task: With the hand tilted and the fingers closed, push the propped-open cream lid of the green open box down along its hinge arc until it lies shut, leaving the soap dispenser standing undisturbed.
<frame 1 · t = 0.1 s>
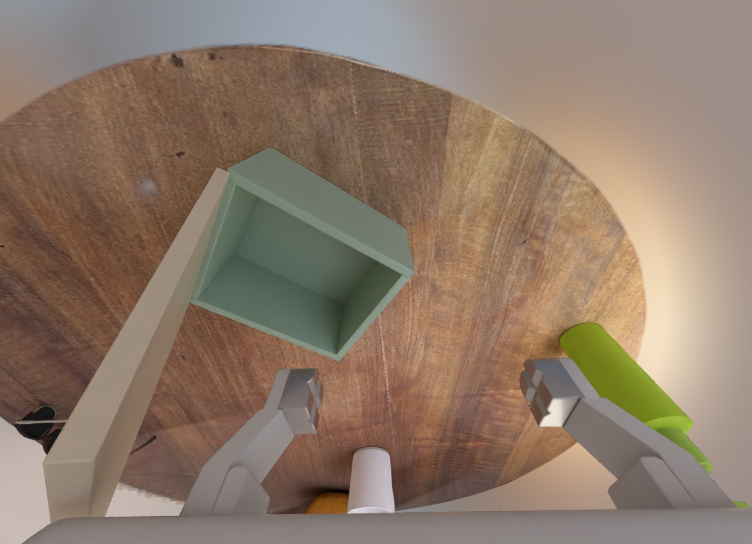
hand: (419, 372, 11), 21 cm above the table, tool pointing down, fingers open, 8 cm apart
bread: (342, 495, 74), on the table
green open box: (315, 241, 31), on the table
mug: (374, 455, 61), on the table
sunglasses: (106, 419, 53), on the table
lid: (161, 334, 15), point 17 cm above the table, hinge at 75.0°
soap dispenser: (578, 338, 40), on the table
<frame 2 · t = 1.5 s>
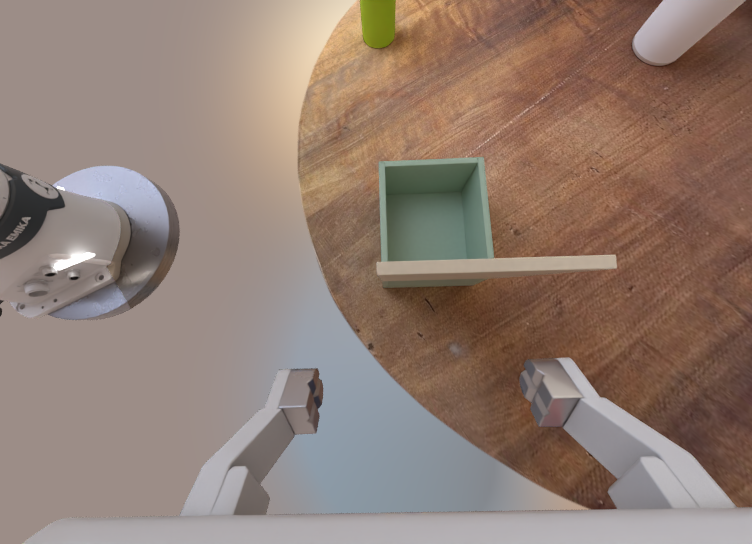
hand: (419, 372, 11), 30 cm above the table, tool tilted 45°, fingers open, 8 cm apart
green open box: (424, 237, 42), on the table
mug: (654, 43, 47), on the table
lid: (457, 272, 24), point 17 cm above the table, hinge at 97.5°
soap dispenser: (381, 35, 50), on the table
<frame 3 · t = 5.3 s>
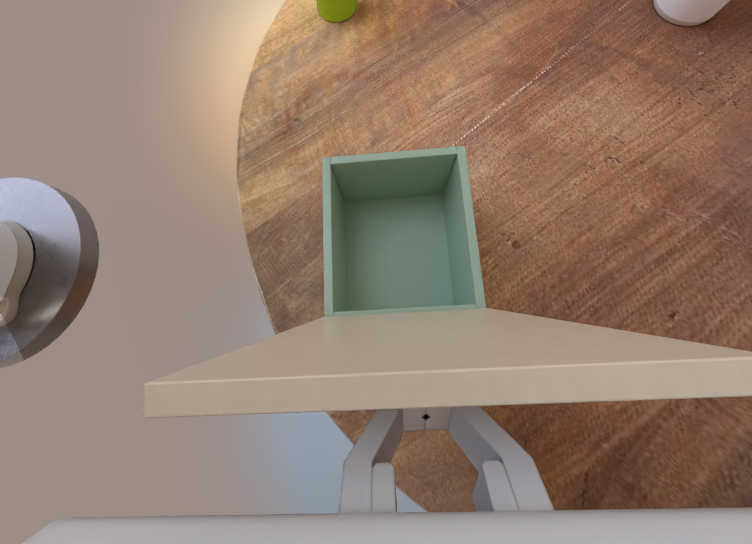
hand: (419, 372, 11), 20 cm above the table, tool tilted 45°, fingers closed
green open box: (396, 254, 33), on the table
lid: (412, 332, 14), point 17 cm above the table, hinge at 97.0°, touching gripper
soap dispenser: (340, 6, 41), on the table
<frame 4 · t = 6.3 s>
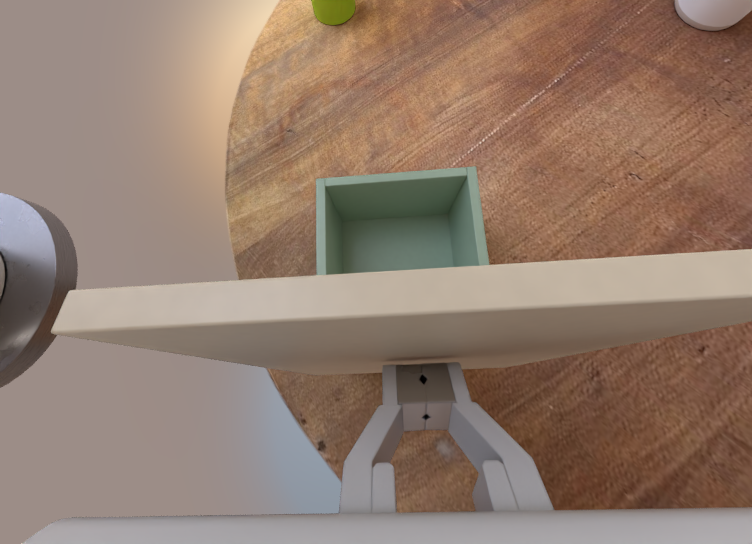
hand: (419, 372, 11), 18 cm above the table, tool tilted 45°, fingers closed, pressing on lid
green open box: (398, 280, 30), on the table
mug: (705, 1, 35), on the table
lid: (417, 351, 12), point 17 cm above the table, hinge at 78.0°, touching gripper
soap dispenser: (338, 8, 38), on the table
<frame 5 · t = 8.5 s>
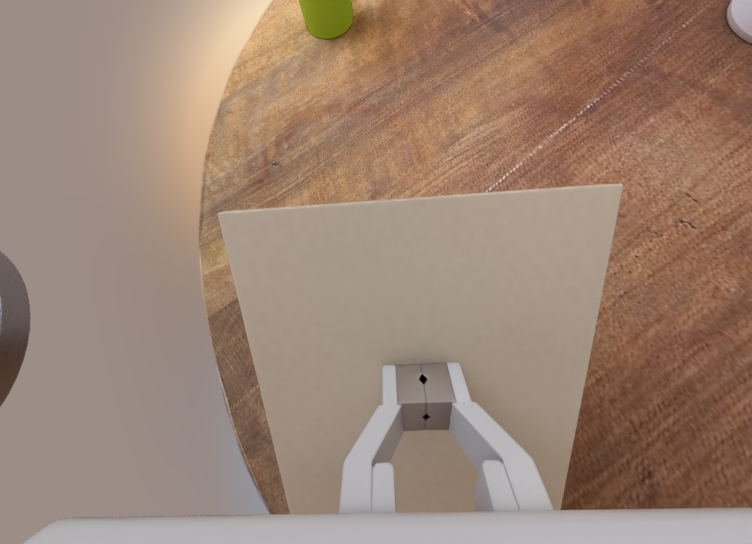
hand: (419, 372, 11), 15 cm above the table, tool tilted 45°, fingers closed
lid: (417, 391, 12), point 13 cm above the table, hinge at 28.8°
soap dispenser: (333, 19, 33), on the table
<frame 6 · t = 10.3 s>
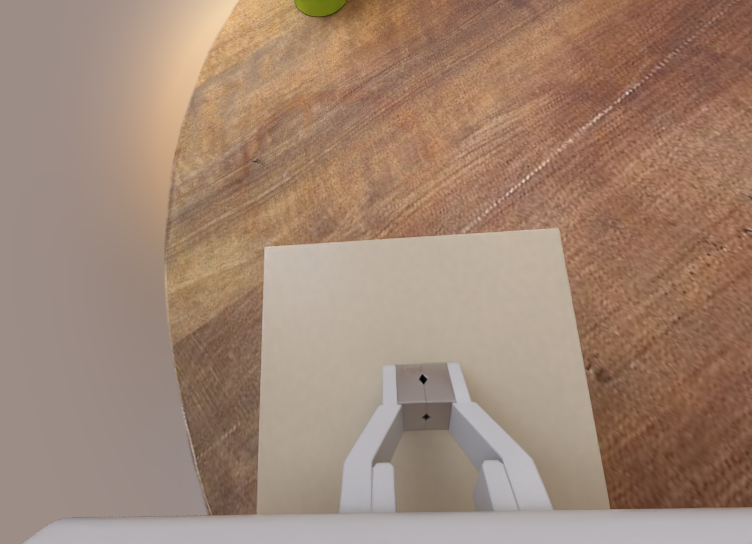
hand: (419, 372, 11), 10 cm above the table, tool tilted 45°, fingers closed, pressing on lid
lid: (421, 427, 11), point 9 cm above the table, hinge at 0.7°, touching gripper
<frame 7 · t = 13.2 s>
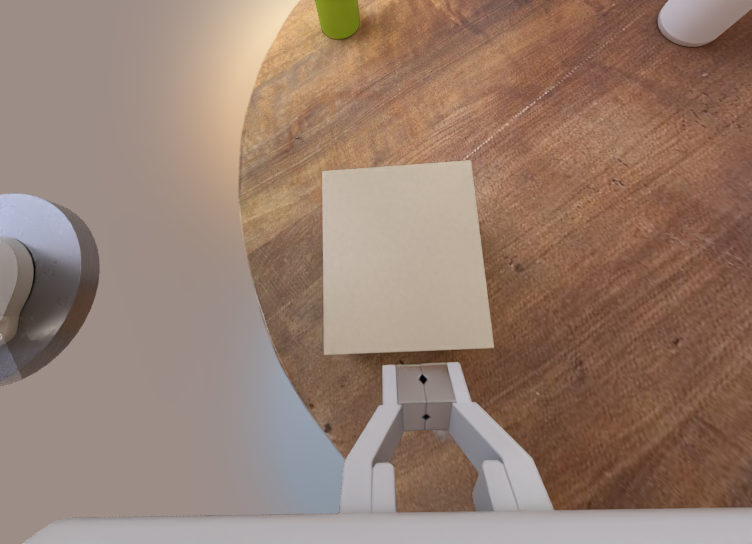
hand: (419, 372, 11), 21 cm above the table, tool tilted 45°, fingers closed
mug: (686, 19, 38), on the table
lid: (401, 253, 24), point 9 cm above the table, hinge at 0.6°
soap dispenser: (343, 23, 41), on the table
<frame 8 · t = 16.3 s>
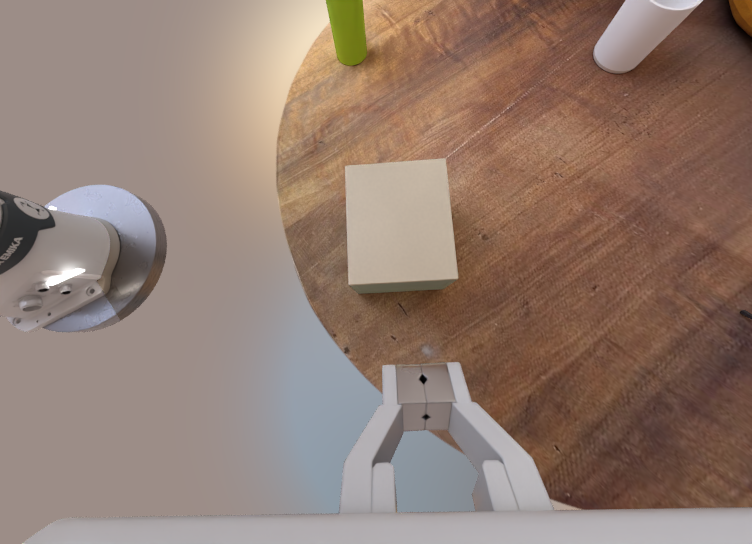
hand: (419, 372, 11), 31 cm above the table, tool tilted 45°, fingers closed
bread: (750, 16, 49), on the table
green open box: (397, 244, 44), on the table
mug: (614, 52, 49), on the table
lid: (398, 220, 35), point 9 cm above the table, hinge at 0.6°
soap dispenser: (354, 53, 53), on the table
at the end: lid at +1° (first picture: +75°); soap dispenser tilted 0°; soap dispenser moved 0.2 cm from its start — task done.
